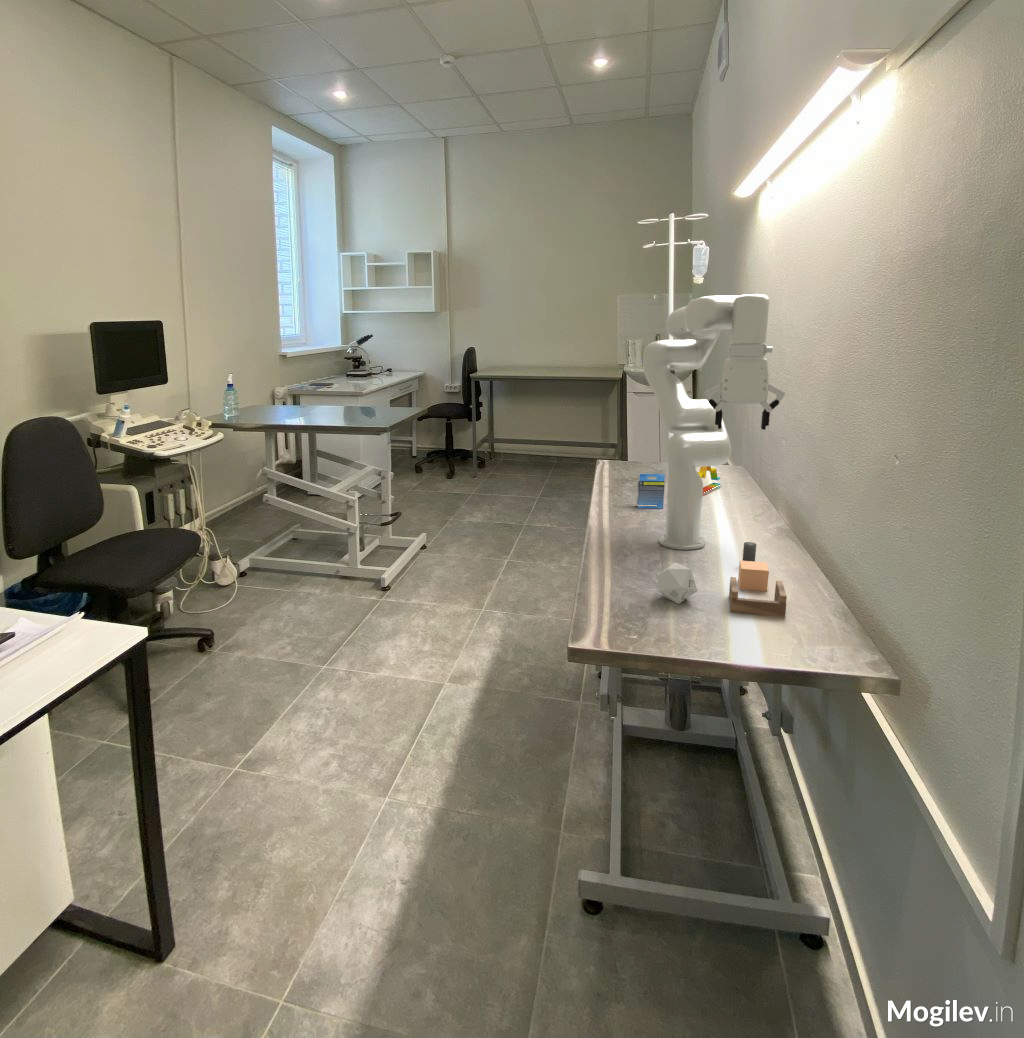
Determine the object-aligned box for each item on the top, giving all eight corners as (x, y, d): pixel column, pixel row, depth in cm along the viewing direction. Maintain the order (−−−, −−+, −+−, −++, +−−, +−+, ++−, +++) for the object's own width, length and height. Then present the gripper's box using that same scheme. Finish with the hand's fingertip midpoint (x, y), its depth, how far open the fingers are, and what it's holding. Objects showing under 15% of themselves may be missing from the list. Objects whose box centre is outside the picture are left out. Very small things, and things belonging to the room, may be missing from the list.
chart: (688, 504, 232) (691, 462, 228) (679, 502, 234) (682, 461, 230) (721, 488, 255) (723, 450, 251) (713, 487, 257) (715, 449, 253)
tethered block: (735, 563, 170) (737, 541, 168) (760, 565, 168) (762, 542, 167) (739, 589, 153) (741, 564, 151) (766, 591, 151) (769, 566, 149)
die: (657, 608, 144) (685, 580, 139) (642, 579, 150) (669, 551, 144) (683, 614, 148) (712, 587, 143) (668, 585, 154) (695, 558, 149)
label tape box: (662, 506, 228) (663, 471, 225) (663, 509, 224) (665, 473, 221) (636, 505, 229) (637, 471, 226) (637, 508, 225) (638, 473, 222)
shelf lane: (729, 595, 149) (730, 576, 147) (779, 600, 146) (781, 581, 145) (730, 612, 140) (732, 592, 138) (784, 617, 137) (787, 597, 136)
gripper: (786, 351, 149) (779, 427, 153) (706, 352, 153) (702, 425, 157) (790, 352, 142) (783, 431, 146) (707, 353, 146) (702, 429, 150)
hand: (741, 428), depth 152 cm, fingers open, 9 cm apart
